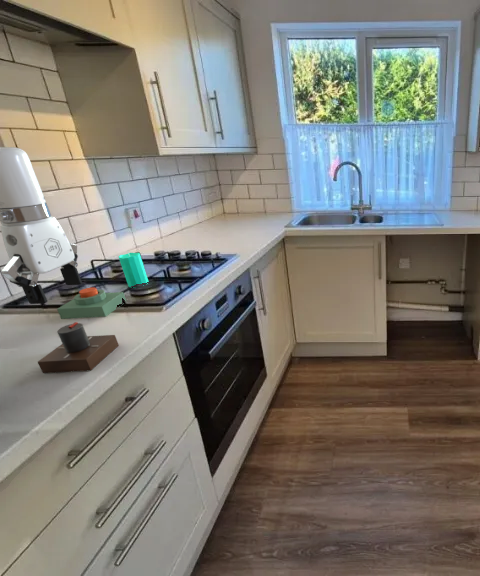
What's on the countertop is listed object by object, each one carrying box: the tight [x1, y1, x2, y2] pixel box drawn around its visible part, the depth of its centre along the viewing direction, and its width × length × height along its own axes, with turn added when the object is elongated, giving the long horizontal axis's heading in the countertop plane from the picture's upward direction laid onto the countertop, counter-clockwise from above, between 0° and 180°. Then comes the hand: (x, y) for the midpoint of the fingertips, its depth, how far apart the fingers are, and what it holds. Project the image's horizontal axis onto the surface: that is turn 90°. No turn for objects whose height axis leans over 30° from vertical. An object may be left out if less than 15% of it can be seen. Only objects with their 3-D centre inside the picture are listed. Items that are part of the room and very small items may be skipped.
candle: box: [118, 249, 149, 288], centre depth 121 cm, size 6×6×12 cm
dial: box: [56, 321, 90, 353], centre depth 80 cm, size 4×4×5 cm
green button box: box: [56, 289, 127, 320], centre depth 104 cm, size 12×10×5 cm
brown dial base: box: [37, 334, 120, 374], centre depth 82 cm, size 10×10×3 cm
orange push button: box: [78, 286, 98, 298], centre depth 103 cm, size 4×4×2 cm
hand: (57, 293), depth 78 cm, fingers open, 9 cm apart
